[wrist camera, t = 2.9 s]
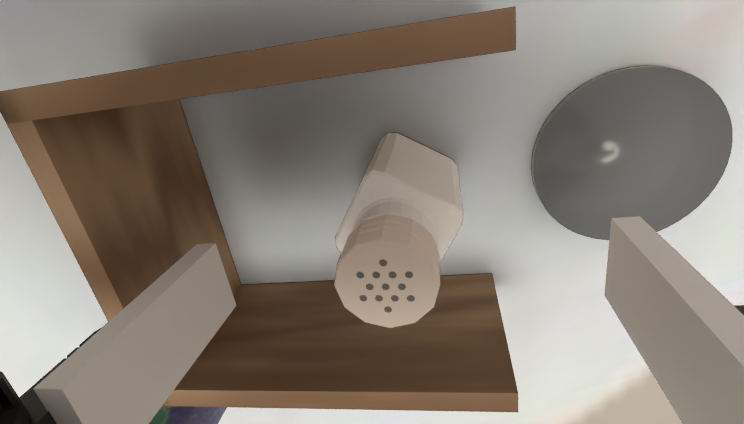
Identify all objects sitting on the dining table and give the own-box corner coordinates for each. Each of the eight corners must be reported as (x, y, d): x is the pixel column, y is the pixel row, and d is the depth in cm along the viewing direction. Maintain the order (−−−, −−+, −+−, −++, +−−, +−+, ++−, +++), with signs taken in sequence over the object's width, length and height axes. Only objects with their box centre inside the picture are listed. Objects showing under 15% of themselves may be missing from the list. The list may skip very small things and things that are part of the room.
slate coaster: (532, 79, 18) (535, 81, 17) (741, 52, 16) (752, 53, 16) (530, 239, 21) (533, 244, 21) (705, 228, 20) (713, 234, 19)
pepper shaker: (461, 160, 20) (479, 264, 11) (423, 224, 22) (415, 357, 13) (387, 124, 20) (350, 203, 11) (356, 192, 21) (302, 305, 13)
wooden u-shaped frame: (149, 67, 20) (-10, 92, 13) (482, 12, 17) (515, 6, 10) (230, 298, 26) (151, 405, 19) (492, 288, 23) (518, 412, 16)
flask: (246, 350, 28) (145, 527, 18) (252, 381, 29) (159, 562, 19) (122, 335, 29) (-35, 494, 19) (132, 366, 30) (-11, 529, 20)
